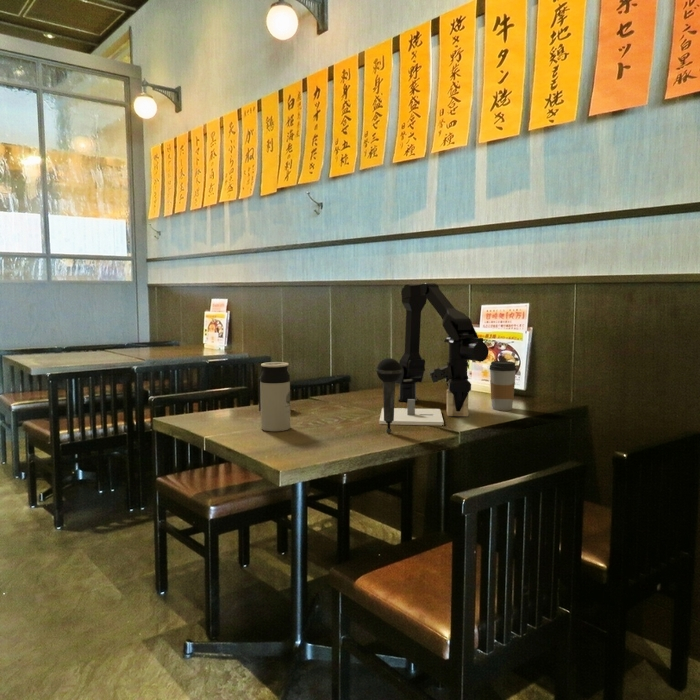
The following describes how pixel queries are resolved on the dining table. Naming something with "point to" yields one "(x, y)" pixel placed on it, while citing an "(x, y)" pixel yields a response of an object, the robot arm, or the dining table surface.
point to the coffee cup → (502, 384)
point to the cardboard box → (452, 409)
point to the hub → (414, 416)
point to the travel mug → (275, 396)
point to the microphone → (389, 386)
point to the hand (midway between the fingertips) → (457, 409)
